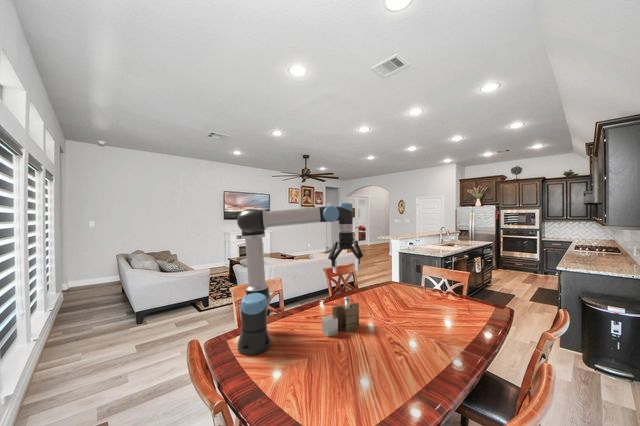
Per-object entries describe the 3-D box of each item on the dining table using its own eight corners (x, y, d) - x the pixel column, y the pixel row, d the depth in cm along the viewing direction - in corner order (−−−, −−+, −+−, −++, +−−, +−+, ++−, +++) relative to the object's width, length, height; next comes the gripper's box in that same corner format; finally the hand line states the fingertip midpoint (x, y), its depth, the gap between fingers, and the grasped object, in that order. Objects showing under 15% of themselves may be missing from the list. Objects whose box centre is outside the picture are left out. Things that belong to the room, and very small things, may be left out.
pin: (346, 330, 139) (345, 298, 139) (343, 328, 142) (342, 297, 142) (352, 329, 141) (351, 297, 141) (349, 327, 144) (348, 296, 144)
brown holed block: (346, 332, 137) (346, 309, 137) (340, 327, 143) (340, 305, 143) (364, 328, 142) (364, 306, 142) (358, 324, 148) (357, 302, 148)
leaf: (327, 336, 133) (327, 312, 133) (322, 331, 138) (321, 308, 139) (356, 330, 140) (356, 307, 140) (350, 325, 146) (350, 303, 146)
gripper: (328, 233, 133) (328, 275, 133) (369, 231, 143) (369, 270, 143) (321, 232, 140) (321, 272, 140) (361, 230, 150) (361, 268, 150)
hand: (346, 271), depth 142 cm, fingers open, 13 cm apart
